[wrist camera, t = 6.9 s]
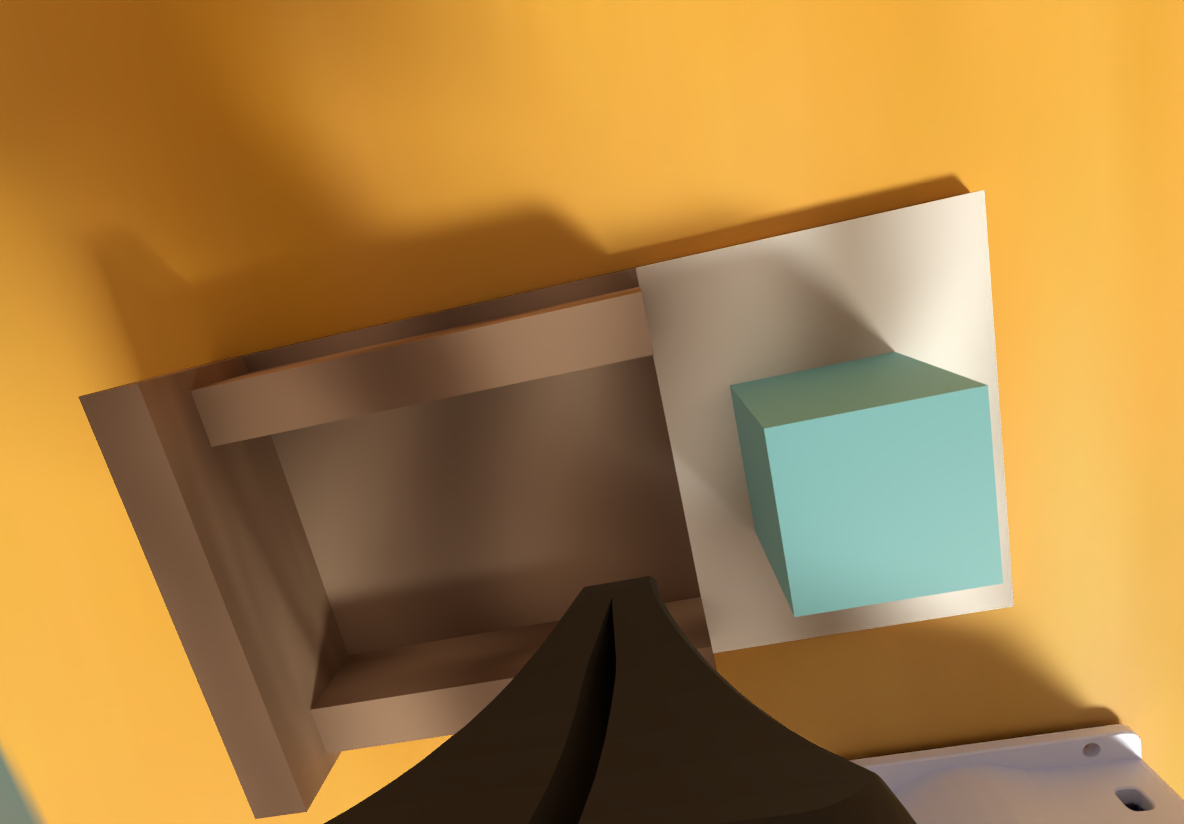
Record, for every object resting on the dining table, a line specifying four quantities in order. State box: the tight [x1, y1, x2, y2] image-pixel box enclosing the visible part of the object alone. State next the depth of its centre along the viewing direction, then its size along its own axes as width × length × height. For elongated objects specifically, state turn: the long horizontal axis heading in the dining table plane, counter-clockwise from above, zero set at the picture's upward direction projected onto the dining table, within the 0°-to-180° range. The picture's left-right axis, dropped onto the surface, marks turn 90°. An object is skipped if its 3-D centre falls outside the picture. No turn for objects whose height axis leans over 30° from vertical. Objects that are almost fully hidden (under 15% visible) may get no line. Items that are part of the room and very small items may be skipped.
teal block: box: [730, 352, 1003, 617], centre depth 16 cm, size 4×4×4 cm
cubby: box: [79, 190, 1014, 819], centre depth 17 cm, size 22×12×5 cm, turn 103°
